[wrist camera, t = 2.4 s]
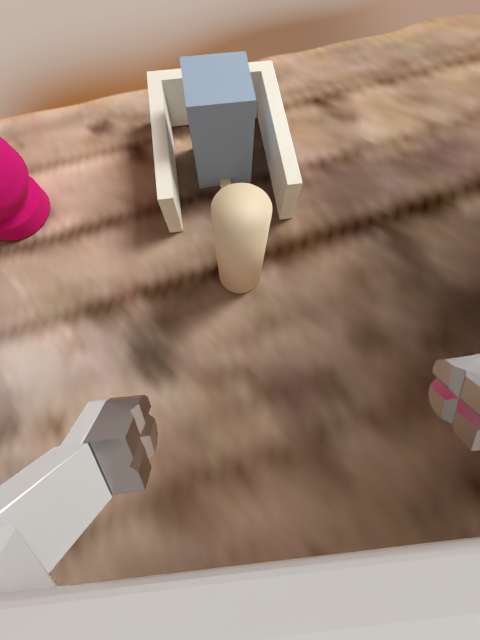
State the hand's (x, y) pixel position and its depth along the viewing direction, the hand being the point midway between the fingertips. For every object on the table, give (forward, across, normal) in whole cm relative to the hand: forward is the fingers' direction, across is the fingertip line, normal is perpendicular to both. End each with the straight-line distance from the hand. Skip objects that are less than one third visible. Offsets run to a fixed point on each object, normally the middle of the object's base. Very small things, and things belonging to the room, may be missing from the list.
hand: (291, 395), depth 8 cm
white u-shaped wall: (+26, -1, +8) cm, 27 cm away
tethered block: (+23, -1, +3) cm, 23 cm away
